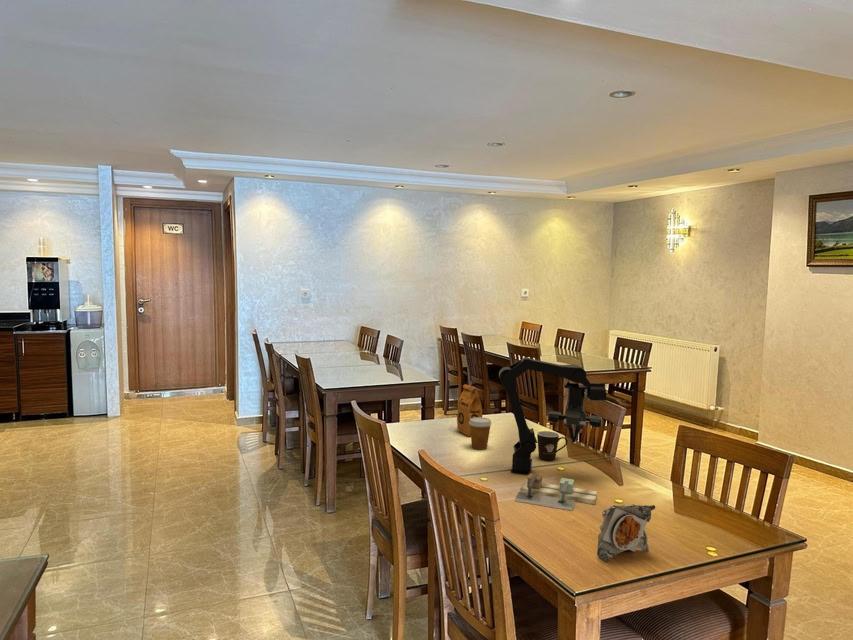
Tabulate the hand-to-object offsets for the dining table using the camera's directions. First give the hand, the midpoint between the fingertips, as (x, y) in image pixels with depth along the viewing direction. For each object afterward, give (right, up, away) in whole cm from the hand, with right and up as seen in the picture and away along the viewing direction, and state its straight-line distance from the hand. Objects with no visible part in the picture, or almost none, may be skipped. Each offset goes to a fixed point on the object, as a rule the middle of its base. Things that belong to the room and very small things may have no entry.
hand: (573, 442), depth 206 cm
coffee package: (-34, -8, +51) cm, 62 cm away
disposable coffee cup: (-32, -9, +30) cm, 45 cm away
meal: (-2, -17, -59) cm, 62 cm away
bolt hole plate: (-16, -14, -26) cm, 34 cm away
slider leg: (-9, -12, -23) cm, 28 cm away
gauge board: (-11, -13, -21) cm, 28 cm away
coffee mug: (-5, -11, +18) cm, 21 cm away
